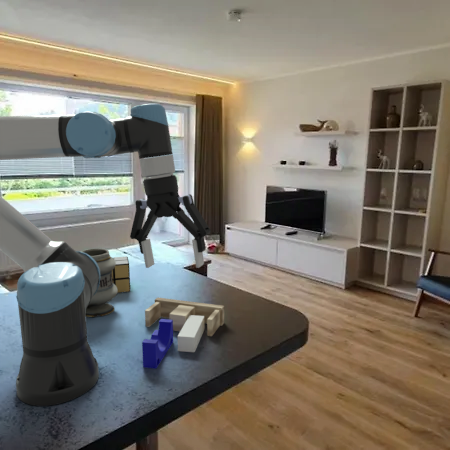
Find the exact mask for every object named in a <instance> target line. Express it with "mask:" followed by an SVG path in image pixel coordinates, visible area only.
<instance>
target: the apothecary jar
mask: <svg viewBox="0 0 450 450" xmlns="http://www.w3.org/2000/svg"><path fill="white" fill-rule="evenodd" d="M80 252H84V253H86V254H88V255H90V256H91V257H92V258H93V259H94V260H95V261H96V262H97V264H98V266H99V269H100V283H99V287H98V290H97V292H96V293H95V295H94V296H93V297H92V299H91V301H90V303H89V304H88V306H87V308H86V318H96V317H105V316H106V315H109V314H111V313H113V312H115V307H114V305H113V304H111V303H109V302H111V301H112V300H113V299H115V298H116V296H117V294H118V293H117V292H118V289H117V287H116V285H115V284H113V280H112V270H113V269H114V268H115V265H116V262H115V260H114V259H113V258H114V257H112V256H111V255H110V251H109V250H108V249H106V248H100V247H99V248H89V249H88V248H87V249H84V250H81V251H80Z"/></svg>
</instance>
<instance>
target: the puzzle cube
mask: <svg viewBox="0 0 450 450" xmlns="http://www.w3.org/2000/svg"><path fill="white" fill-rule="evenodd" d="M112 258H113V259H114V260H115V262H116V265H115V268H114V269H113V270H112V280H113V284H115V285H116V287H117V289H118V292H117V294H120V293H121V294H122V292H123V293H130V292H131V277H130V271H131V270H130V261H129V257H128V256H127V255H126V256H115V257H112Z"/></svg>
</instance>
